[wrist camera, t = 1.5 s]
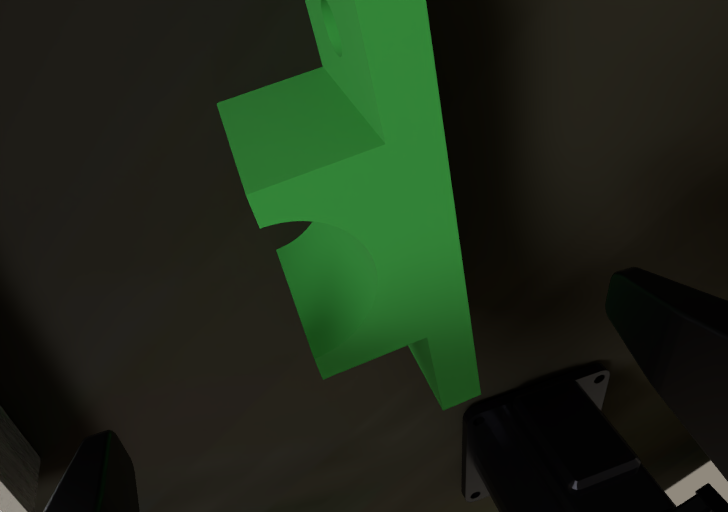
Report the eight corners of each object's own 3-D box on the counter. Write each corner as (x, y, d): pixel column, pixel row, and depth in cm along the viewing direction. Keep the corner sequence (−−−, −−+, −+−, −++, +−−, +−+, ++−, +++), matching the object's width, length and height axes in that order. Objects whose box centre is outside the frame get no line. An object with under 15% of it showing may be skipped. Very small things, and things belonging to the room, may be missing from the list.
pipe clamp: (158, -37, 12) (171, 19, 8) (333, -92, 12) (418, -63, 9) (311, 336, 19) (353, 453, 15) (418, 293, 19) (483, 397, 16)
